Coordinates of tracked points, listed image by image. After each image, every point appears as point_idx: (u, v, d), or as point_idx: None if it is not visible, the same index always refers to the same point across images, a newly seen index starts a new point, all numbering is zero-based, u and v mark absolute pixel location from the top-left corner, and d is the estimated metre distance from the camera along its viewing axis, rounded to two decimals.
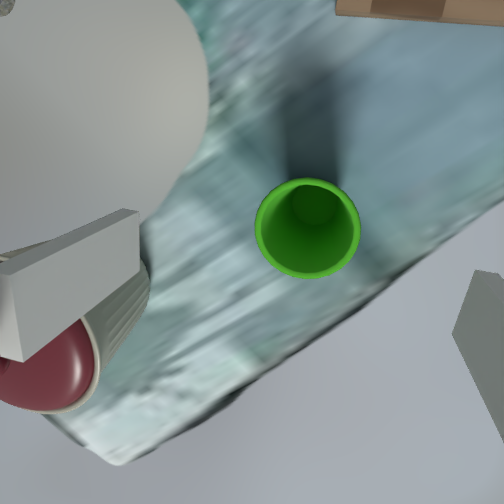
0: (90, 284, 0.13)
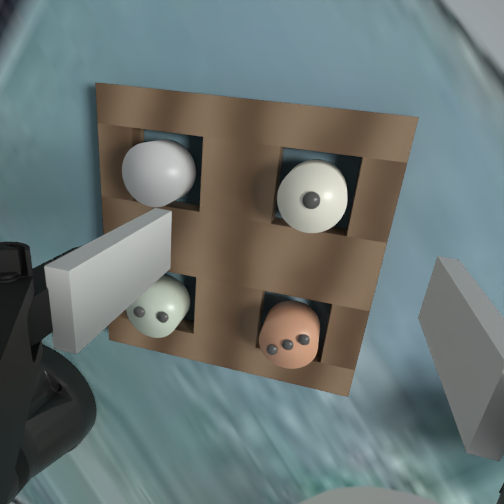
0: (130, 281, 0.13)
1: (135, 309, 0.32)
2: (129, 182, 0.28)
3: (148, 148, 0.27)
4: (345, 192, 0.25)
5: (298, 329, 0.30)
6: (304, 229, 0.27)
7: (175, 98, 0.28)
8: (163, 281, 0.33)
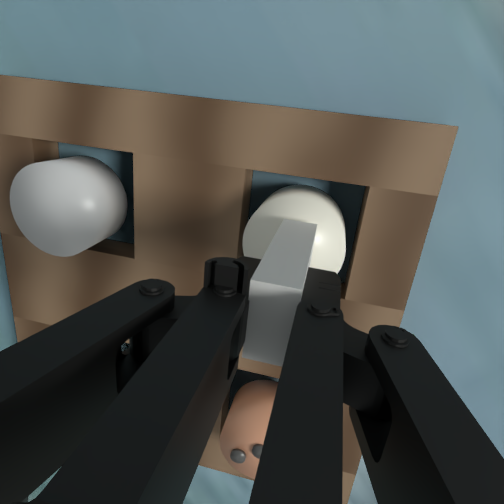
0: None
1: None
2: (22, 220, 0.19)
3: (44, 171, 0.18)
4: (343, 238, 0.17)
5: None
6: None
7: (89, 96, 0.19)
8: None
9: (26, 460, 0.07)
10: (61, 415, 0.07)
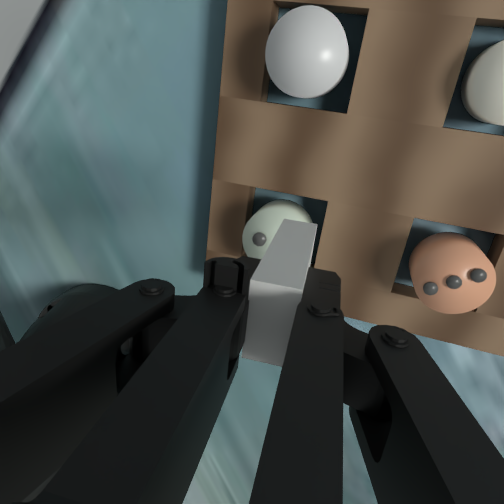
0: None
1: (255, 235, 0.27)
2: (273, 64, 0.23)
3: (308, 14, 0.21)
4: None
5: (473, 262, 0.23)
6: (503, 121, 0.21)
7: None
8: (288, 204, 0.27)
9: (26, 460, 0.07)
10: (61, 415, 0.07)
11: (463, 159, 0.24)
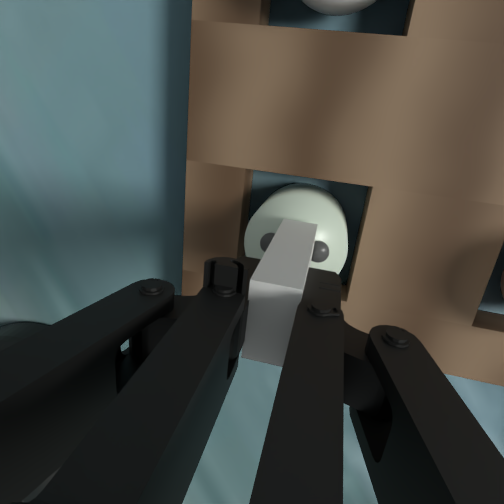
0: None
1: (264, 238, 0.17)
2: None
3: None
4: None
5: None
6: None
7: None
8: (311, 189, 0.18)
9: (26, 460, 0.07)
10: (61, 415, 0.07)
11: None
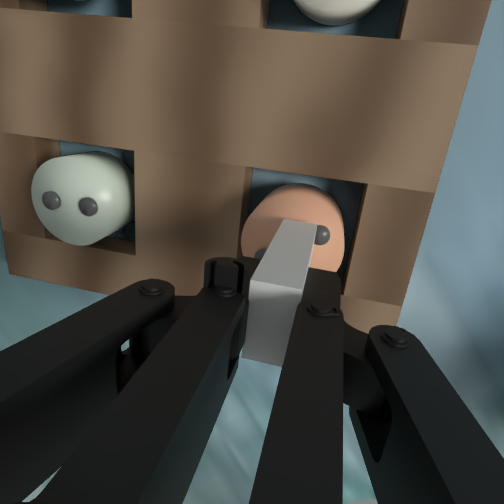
0: None
1: (45, 196, 0.20)
2: None
3: None
4: None
5: (311, 216, 0.17)
6: (325, 2, 0.14)
7: None
8: (92, 154, 0.21)
9: (26, 459, 0.07)
10: (61, 415, 0.07)
11: (293, 74, 0.17)
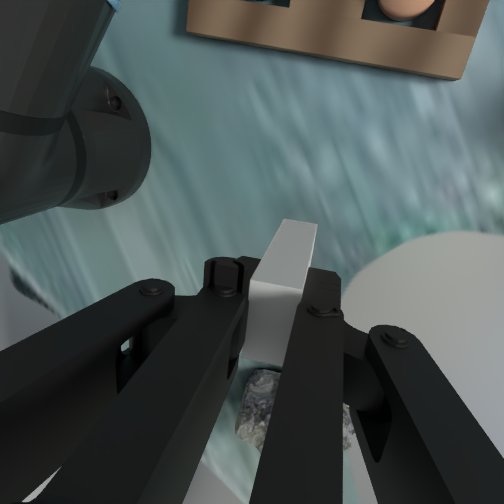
0: None
1: None
2: None
3: None
4: None
5: None
6: None
7: None
8: None
9: (26, 460, 0.07)
10: (61, 415, 0.07)
11: None
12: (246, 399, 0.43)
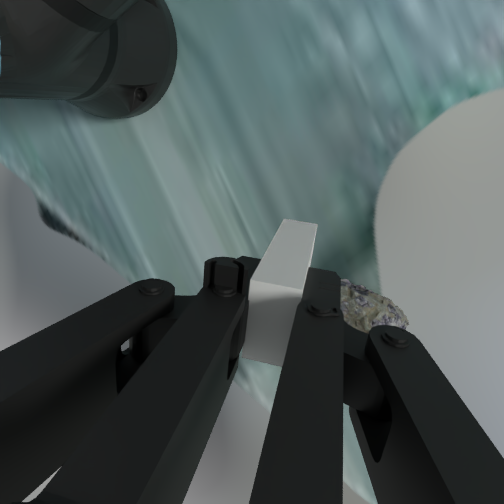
0: None
1: None
2: None
3: None
4: None
5: None
6: None
7: None
8: None
9: (26, 460, 0.07)
10: (61, 415, 0.07)
11: None
12: None
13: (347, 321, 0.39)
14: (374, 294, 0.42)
